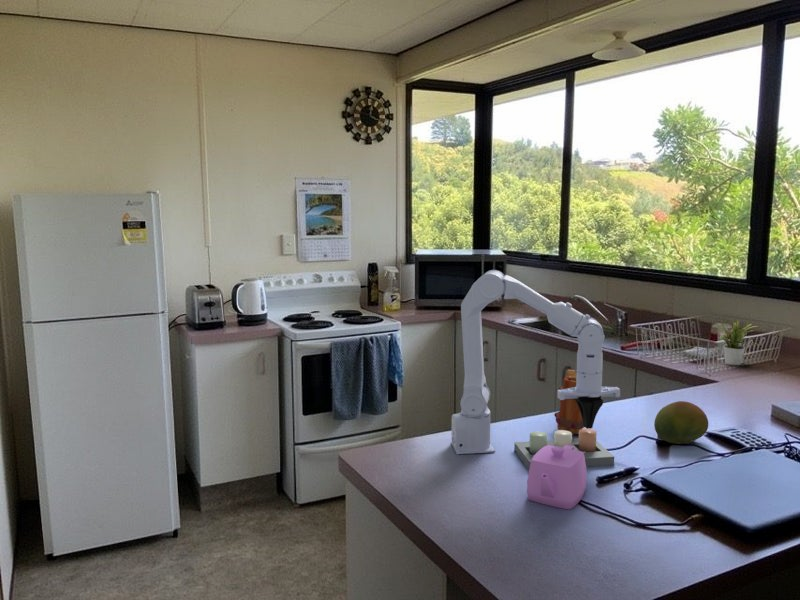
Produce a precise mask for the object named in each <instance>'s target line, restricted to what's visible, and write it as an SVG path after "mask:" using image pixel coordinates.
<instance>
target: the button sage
mask: <svg viewBox="0 0 800 600" xmlns="http://www.w3.org/2000/svg"><path fill="white" fill-rule="evenodd" d="M547 441H548V434H547V433H546V432H544V431H543V432H542V431H531V432H530V433H529V442H530V453H531V454H534V455H535V454H536V453H537V452H538V451H539V450H540V449H542V448H543V447H545V446H547Z"/></svg>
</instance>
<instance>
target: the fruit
mask: <svg viewBox="0 0 800 600" xmlns="http://www.w3.org/2000/svg"><path fill="white" fill-rule="evenodd" d="M653 426H654V431H655V433H656V434H657V436H658V437H659V438H660V439H662V440H663V441H665V442H667V443H669V444H675V445H679V444H680V445H681V444H687V443H691V442H695V441H697V440H699V439H700V438H701V437H703V436H704V435H705V434H706V433H707V431H708V429H709V419H708V417H707V414H706V413H705V411H704V410H703V409H702V408H700V406H697V404H694V403H692V402H690V401H689V402H688V401H686V400H679V401H675V402H672V403H669V404H667V405H665V406H663V407H662V408H661V409H660V410H659V411H657V414H656V416H655V419H654V425H653Z"/></svg>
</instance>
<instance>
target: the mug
mask: <svg viewBox="0 0 800 600" xmlns="http://www.w3.org/2000/svg"><path fill="white" fill-rule="evenodd" d="M576 379H577V370H576V369H567V370H566V373H565V376H564V378H563V379H562V381H563V382H562V386H561V387H559V388H558V390H562V389H568V388H574V387H576ZM559 400H560V399H559ZM559 405H560V406H559V411H558V412H557V411H556V412H555V413H554V418H555V422H556V423H557V431H558V430H566V431H569V432H571V433H572V435H579V430H581V429H585V427H584V425H583V419H582V415H581V412H580V409H579V407H578V405H577V403H576V401H575V398H573V399H564V400H560V404H559Z"/></svg>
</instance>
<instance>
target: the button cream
mask: <svg viewBox="0 0 800 600" xmlns="http://www.w3.org/2000/svg"><path fill="white" fill-rule="evenodd" d="M553 433H554V434H553V435H554V436H553V437H554V439H553V440H554V446H556V447H562V448H563V447H564V446H566V445H569V446H572V439H573V434H572V433H571V432H569V431H566V430H558V429H557V430H555V431H554V432H553Z"/></svg>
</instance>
